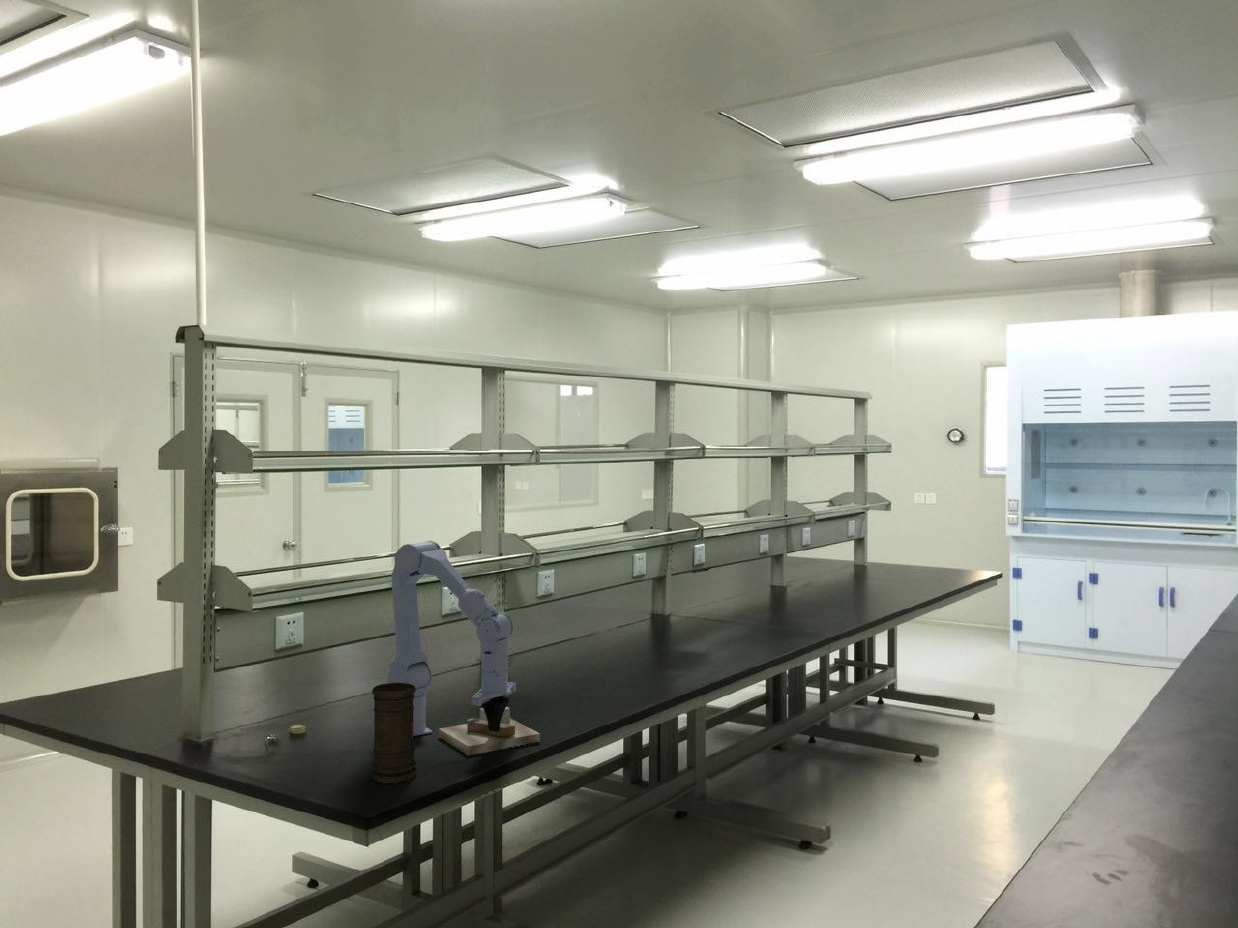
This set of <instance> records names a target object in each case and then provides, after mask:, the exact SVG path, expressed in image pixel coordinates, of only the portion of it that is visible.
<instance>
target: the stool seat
mask: <svg viewBox="0 0 1238 928" xmlns="http://www.w3.org/2000/svg"><path fill="white" fill-rule="evenodd" d="M502 724H508V725H514V726H515V735H513V736H511V737H509V738H508V737H502V736H497V735H492V734H486V733H481V732H475V731H469V730H467V723H465V724H460V725H459V724H458V725H453V726H447V727H441V728H440V727H439V728H438V738H439V739H441V740H442V739H443V741H444V742H445V741H446V742H445V743H448V744H449V745H451V746H452V747H453V748H455V749H457V750H459V751H460V752H462V753H464V755H466V756H474V755H478V754H485V753H489V752H490V753H491V752H494V751H500V749H501V750H506V748H507V749H510V748H509V747H512V748H516V747H515V746H517V747H521V746H520V745H523V746H527V745H526V744H528V745H530V744H529V743H534V744H536V743H535V742H539V743H540V742H541V733H539V732H538V731H536V730H534V729H532V728H530V727H528V726H526V725H524V724H522V723H520V722H518V721H516V720H515V719H513V718H511V717H510V722H508V723H502ZM524 744H525V745H524Z"/></svg>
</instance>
